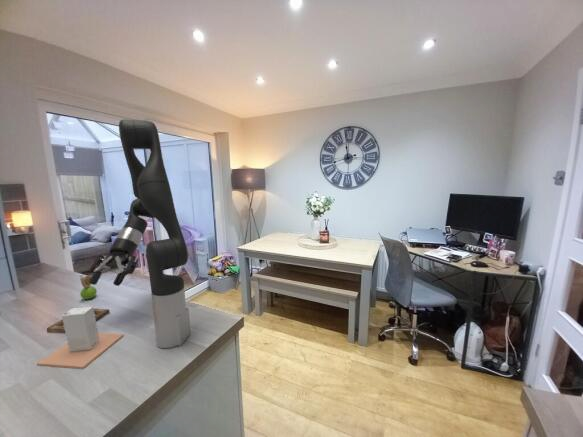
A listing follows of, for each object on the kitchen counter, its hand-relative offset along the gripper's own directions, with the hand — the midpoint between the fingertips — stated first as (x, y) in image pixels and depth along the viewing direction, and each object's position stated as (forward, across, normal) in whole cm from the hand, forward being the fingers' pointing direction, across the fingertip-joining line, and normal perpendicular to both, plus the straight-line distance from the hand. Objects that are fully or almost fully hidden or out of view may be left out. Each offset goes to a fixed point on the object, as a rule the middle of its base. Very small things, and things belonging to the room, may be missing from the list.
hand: (104, 284), depth 78 cm
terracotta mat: (+18, 0, +5) cm, 19 cm away
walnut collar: (+9, -15, +15) cm, 23 cm away
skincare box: (+18, 0, +5) cm, 19 cm away
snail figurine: (-2, -28, +26) cm, 38 cm away
